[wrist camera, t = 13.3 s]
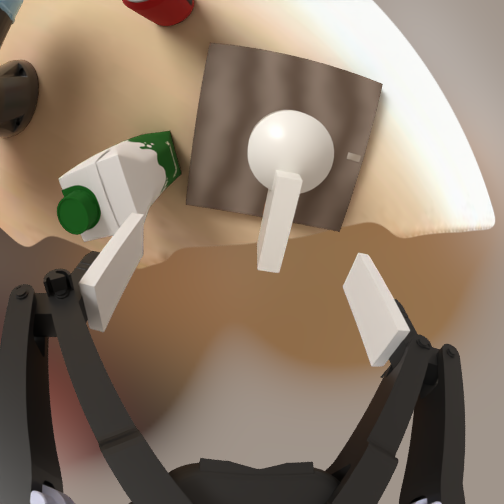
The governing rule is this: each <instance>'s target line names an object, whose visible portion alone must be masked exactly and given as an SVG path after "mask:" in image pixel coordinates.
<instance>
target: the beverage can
mask: <svg viewBox="0 0 504 504" xmlns="http://www.w3.org/2000/svg"><path fill="white" fill-rule="evenodd" d="M122 1H123V3H124V4H125V5H126V6H127V7H128V8H130V9H132V10H133V11H135V12H137V13H138V14H140V15H142V16H144V17H145V18H147V19H149V20H151V21H152V22H154V23H156V24H158V25H161V26H170V25H175V24H177V23H180V22H181V21H183V20H184V19H186V18H187V17H188V16H189V15H190V13H191V12H192V10H193V7H194V0H122Z"/></svg>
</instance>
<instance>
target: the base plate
mask: <svg viewBox="0 0 504 504" xmlns="http://www.w3.org/2000/svg"><path fill="white" fill-rule="evenodd" d="M382 85H383V84H381V83H379V82H376V81H373V80H371V79H368V78H366V77H363V76H360V75H357V74H354V73H351V72H348V71H345V70H342V69H339V68H336V67H333V66H330V65H326V64H323V63H319V62H315V61H312V60H308V59H304V58H300V57H296V56H291V55H287V54H282V53H277V52H272V51H267V50H261V49H256V48H249V47H242V46H235V45H227V44H217V43H210V45H209V50H208V55H207V60H206V65H205V70H204V76H203V81H202V87H201V93H200V99H199V105H198V111H197V118H196V124H195V131H194V138H193V146H192V154H191V162H190V170H189V179H188V189H187V199H186V205H192V206H199V207H205V208H211V209H218V210H224V211H230V212H236V213H242V214H248V215H253V216H259V217H263V213H264V208H265V203H266V198H267V193H268V188H267V187H265V186H264V185H263V184H261V183H260V182H259V181H258V180H257V178H256V177H255V176H254V174H253V172H252V170H251V168H250V165H249V162H248V143H249V138H250V135H251V132H252V130H253V128H254V127H255V125H256V124H257V123H258V122H259V121H260V120H261V119H262V118H263V117H265V116H266V115H268V114H270V113H272V112H275V111H279V110H295V111H299V112H302V113H305V114H307V115H309V116H312V117H313V118H315V119H317V120H318V121H319V122H320V123H321V124H322V125H323V126H324V127H325V128H326V130H327V131H328V133H329V134H330V136H331V139H332V142H333V146H334V160H333V164H332V167H331V170H330V172H329V174H328V175H327V177H326V178H325V179H324V180H323V181H322V182H321V183H320V184H319V185H318V186H316V187H315V188H313V189H312V190H310V191H307V192H304V193H301V194H299V198H298V202H297V206H296V210H295V214H294V218H293V222H292V223H298V224H303V225H308V226H313V227H318V228H323V229H328V230H333V231H338V232H339V231H340V229H341V226H342V223H343V221H344V218H345V215H346V212H347V209H348V206H349V203H350V200H351V197H352V194H353V190H354V187H355V184H356V181H357V178H358V174H359V171H360V168H361V165H362V161H363V158H364V154H365V151H366V147H367V144H368V140H369V137H370V133H371V129H372V125H373V122H374V118H375V114H376V110H377V106H378V102H379V98H380V93H381V89H382Z"/></svg>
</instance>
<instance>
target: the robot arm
mask: <svg viewBox="0 0 504 504" xmlns="http://www.w3.org/2000/svg"><path fill="white" fill-rule="evenodd" d="M22 3H23V0H0V48H1V46H2V44H3V41H4V39H5V37H6V35H7V33H8V31H9V29H10V27H11V25H12V24H13V23H14V21H15V17H16V15H17V13H18V11H19V9H20V7H21V5H22ZM37 98H38V79H37V75H36V72H35V69H34V68H33V66H32V65H31V64H30V63H29V62H27V61H25V60H13V61H9V62H7V63H5V64H3V65H1V66H0V138H8V137H11V136H13V135H16V134H18V133H20V132H21V131H22V130H24V129H25V127H26V126H27V125H28V123H29V122H30V120H31V118H32V116H33V113H34V111H35V108H36V104H37ZM143 230H144V214H137V213H131V214H130V216H129V217H128V218H127V219H126V220H125V222H124V223H123V224H122V225H121V227H120V228H119V229H118V230H117V232H116V233H115V234H114V235H113V237H112V238H111V239H110V241H109V242H108V243H107V244H106V246H105V247H104V248H103V250H102V251H101V252H95V251H92V252H90V253H89V254H87V255H85V257H84V258H83V259H82V260H81V262H80V263H79V264H78V265H77V267H76V268H75V269H74V271H73V272H72V273H71V274H70V272H69V271H67V270H65V269H55V270H52V271H50V272H49V273H47V274H46V276H45V277H44V286H45V289H46V292H47V293H35V292H34V289H33V288H32V286H30V285H26V284H23V285H19V286H18V287H16V288H14V289H13V290H12V292H11V294H10V298H9V302H8V306H7V311H6V316H5V321H4V326H3V333H2V338H1V345H0V504H75V503H74V502H73V501H72V499H71V498H70V497H68V496H67V495H66V494H64V493H63V484H62V477H61V471H60V466H59V461H58V456H57V451H56V445H55V440H54V433H53V425H52V417H51V408H50V395H49V374H48V339H49V337H58V340H59V344H60V348H61V351H62V354H63V357H64V360H65V364H66V367H67V370H68V373H69V375H70V378H71V381H72V384H73V386H74V389H75V392H76V394H77V397H78V399H79V402H80V404H81V406H82V409H83V411H84V413H85V415H86V418H87V420H88V422H89V424H90V426H91V429H92V431H93V433H94V435H95V437H96V439H97V441H98V443H99V447H100V450H101V452H102V453H103V456H104V458H105V459H106V461H107V463H108V465H109V467H110V468H111V470H112V471H113V473H114V475H115V477H116V478H117V480H118V481H119V483H120V485H121V486H122V488H123V489H124V491H125V492H126V494H127V495H128V497H129V498H130V500H131V501H132V502H130V503H129V504H377V503H378V501H379V500H380V498H381V496H382V494H383V492H384V491H385V489H386V486H387V485H388V483H389V481H390V479H391V477H392V475H393V473H394V471H395V469H396V466H397V464H398V459H397V458H395V455H396V452H397V450H398V448H399V445H400V443H401V441H402V438H403V436H404V434H405V431H406V429H407V426H408V424H409V421H410V419H411V416H412V413H413V410H414V416H413V425H412V433H411V440H410V447H409V453H408V459H407V464H406V469H405V475H404V479H403V484H402V488H401V493H400V499H399V504H465V498H464V491H463V483H462V482H463V472H464V456H465V407H464V391H463V380H462V372H461V364H460V356H459V353H458V351H457V350H456V348H455V347H453V346H452V345H450V344H444V346H442V348H441V349H436V348H433V347H432V346H431V343H430V342H429V341H428V340H427V338H425V337H424V336H422V335H418V334H417V332H416V331H415V329H414V327H413V325H412V323H411V321H410V319H409V318H408V315H407V314H406V312H405V310H404V308H403V306H402V305H401V304H400V303H399V302H398V300H396V299H393V297H392V295H391V293H390V291H389V289H388V288H387V286H386V284H385V283H384V281H383V279H382V277H381V275H380V274H379V272H378V270H377V269H376V267H375V265H374V263H373V262H372V260H371V258H370V257H369V255H367V254H362V253H358V254H357V256H356V259H355V261H354V263H353V265H352V268H351V270H350V272H349V274H348V276H347V279H346V281H345V283H344V285H343V289H344V292H345V294H346V297H347V299H348V302H349V304H350V307H351V310H352V313H353V315H354V318H355V320H356V323H357V325H358V329H359V332H360V334H361V337H362V340H363V343H364V346H365V348H366V352H367V355H368V357H369V360H370V363H371V366H384V364H385V363H386V362H387V361H388V360H390V363H391V365H390V366H389V368H388V369H387V370H386V371H385V372H384V374H383V375H382V376H381V378H383V379H382V381H381V383H380V385H379V387H378V389H377V391H376V393H375V395H374V397H373V399H372V401H371V403H370V404H369V407H368V408H367V410H366V412H365V413H364V415H363V417H362V419H361V420H360V422H359V424H358V425H357V427H356V429H355V430H354V432H353V434H352V435H351V437H350V439H349V440H348V442H347V443H346V445H345V447H344V448H343V450H342V451H341V453H340V454H339V455H338V457H337V459H336V460H335V461H334V463H333V464H332V465H331V466H330V467H329V468H328V469H327V470H326V471H323V470H321V469H317V468H313V462H301V463H285V464H281V465H277V466H273V467H268V468H264V469H255V468H251V467H248V466H244V465H240V464H237V463H233V462H230V461H221V460H212V459H204V458H201V459H200V462H199V463H193V464H188V465H184V466H181V467H178V468H176V469H174V470H172V471H170V472H169V473H168V472H167V471H166V470H165V468H164V467H163V465H162V464H161V463H160V461H159V460H158V459H157V457H156V455H155V454H154V452H153V451H152V449H151V448H150V446H149V445H148V443H147V442H146V440H145V439H144V437H143V436H142V434H141V433H140V431H139V430H138V429H137V428H136V426H135V425H134V423H133V421H132V420H131V418H130V416H129V414H128V413H127V411H126V409H125V407H124V405H123V404H122V402H121V400H120V398H119V396H118V394H117V392H116V390H115V388H114V386H113V384H112V382H111V380H110V378H109V376H108V374H107V372H106V370H105V368H104V365H103V363H102V361H101V359H100V357H99V354H98V352H97V350H96V347H95V345H94V343H93V340H92V338H91V335H90V333H89V330H88V327H87V325H86V322H87V320H88V323H89V327H90V328H91V329H94V330H98V331H102V332H104V331H105V329H106V327H107V324H108V322H109V320H110V318H111V316H112V314H113V312H114V310H115V307H116V306H117V304H118V302H119V300H120V297H121V296H122V294H123V292H124V290H125V288H126V285H127V284H128V282H129V280H130V278H131V276H132V274H133V272H134V271H135V269H136V267H137V265H138V263H139V261H140V259H141V258H142V256H143Z"/></svg>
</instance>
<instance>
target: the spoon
mask: <svg viewBox="0 0 504 504" xmlns="http://www.w3.org/2000/svg"><path fill="white" fill-rule="evenodd" d="M333 160H334V146H333V142H332V139H331V136H330V134H329V133H328V131H327V130H326V128H325V127H324V126H323V125H322V124H321V123H320V122H319V121H318V120H317V119H315V118H313V117H312V116H309V115H307V114H305V113H302V112H299V111H295V110H279V111H275V112H272V113H270V114H268V115H266V116H265V117H263V118H262V119H261V120H260V121H259V122H258V123H257V124H256V125H255V127H254V128H253V130H252V132H251V135H250V138H249V143H248V162H249V165H250V168H251V170H252V172H253V174H254V176H255V177H256V178H257V180H258V181H259V182H260V183H261V184H263V185H264V186H265V187H267V188H268V193H267V198H266V203H265V208H264V213H263V218H262V223H261V228H260V232H259V237H258V242H257V267H258V268H257V269H258V270H262V271H269V272H276V273H279V271H280V268H281V264H282V260H283V256H284V253H285V249H286V245H287V241H288V238H289V234H290V230H291V226H292V222H293V218H294V214H295V210H296V206H297V202H298V198H299V194H301V193H304V192H307V191H310V190H312V189H313V188H315V187H316V186H318V185H319V184H320V183H321V182H322V181H323V180H324V179H325V178H326V177H327V175H328V174H329V172H330V170H331V167H332V164H333Z"/></svg>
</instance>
